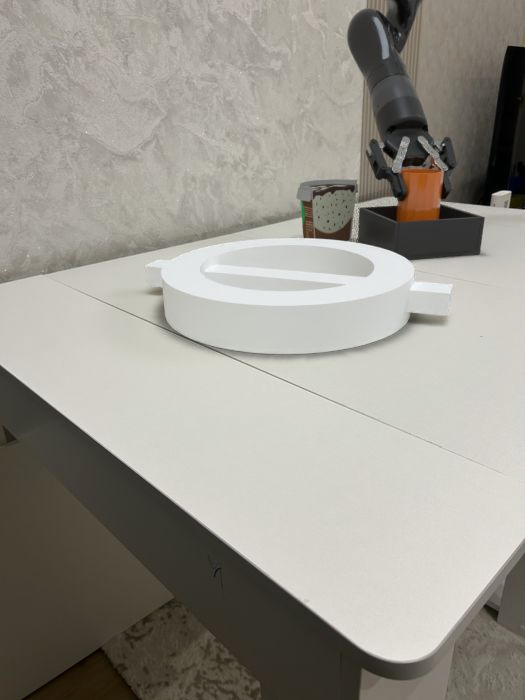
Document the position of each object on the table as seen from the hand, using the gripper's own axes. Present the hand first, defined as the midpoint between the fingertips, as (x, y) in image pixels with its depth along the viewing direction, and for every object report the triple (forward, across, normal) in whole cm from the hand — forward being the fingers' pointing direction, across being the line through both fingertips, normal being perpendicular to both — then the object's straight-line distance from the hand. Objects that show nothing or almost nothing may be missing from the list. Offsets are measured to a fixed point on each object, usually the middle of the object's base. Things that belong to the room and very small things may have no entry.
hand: (424, 196), depth 84 cm
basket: (+5, 0, +7) cm, 8 cm away
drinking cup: (+3, 0, +5) cm, 6 cm away
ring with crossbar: (+20, -27, -8) cm, 35 cm away
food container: (0, -14, +12) cm, 18 cm away
